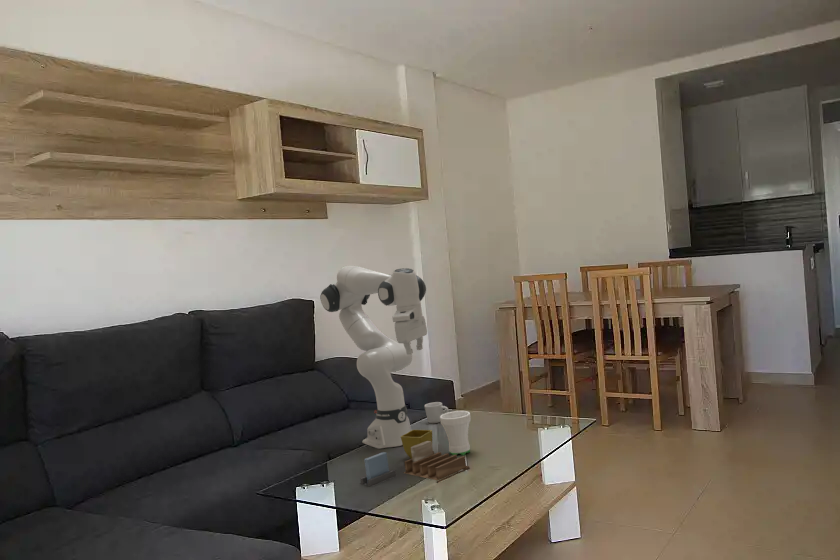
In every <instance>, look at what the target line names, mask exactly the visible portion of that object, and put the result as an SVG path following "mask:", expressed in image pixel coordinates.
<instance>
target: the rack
mask: <svg viewBox="0 0 840 560" xmlns="http://www.w3.org/2000/svg"><path fill="white" fill-rule="evenodd" d="M411 453H412V459H411V458H409V459H408V460H404V462H403V463H404V470H405V471H404V472H402V473H403V474H406V475H409V476H415V477H421V478H425V479H428V480H434V481H436V483H437V484H438V483H441V482H442V481H444V480H445V481H446V480H447V479H449V478H451V477H454V476H456V475H458V474H461V473H462V472H465V471H467V470H470V466H469V465H467V462H466V461H467V460H466V455H461V456H460V457H458V455H450V453H448V452H447V453H444V454H443V453H442V452H441V451H438V452H436V453H435V451H434V449H433V440H432V441H426V442H423V443H420V444H418V445H415V446H413V447H411Z"/></svg>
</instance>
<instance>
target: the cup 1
mask: <svg viewBox="0 0 840 560" xmlns="http://www.w3.org/2000/svg"><path fill="white" fill-rule="evenodd" d="M444 409H445V410H446V413H448V412H450V410H449V407H447V406H445V405H443V402H440V401H435V402H429V403H426V404H424V411H425V414H426V418H427V422H428V423H429V424H438V423H441V421H440V416H441V415H442V414H445V413H444Z"/></svg>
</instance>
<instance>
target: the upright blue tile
mask: <svg viewBox="0 0 840 560" xmlns="http://www.w3.org/2000/svg"><path fill="white" fill-rule="evenodd" d="M363 462H364V466H365V467H364V468H365V474H366V475H365V476H367V483H368V480H369V479H372V478H374V477H377V476H379V475H382V474H384V473H387V472H389V471H390V468H389V467H390V466H389V461H388V452H386V451H385V452H384V451H382V452H380V453H377V454H375V455H372V456H369V457H366V458H364V461H363Z"/></svg>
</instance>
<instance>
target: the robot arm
mask: <svg viewBox="0 0 840 560" xmlns="http://www.w3.org/2000/svg"><path fill="white" fill-rule="evenodd" d="M426 293H427V287H426V283H425V281H424V280H423V279H422V278H421V277H420V276H419V275H417V274H416V271H415V270H414V269H412V268H407V267H406V268H397V269H395V270H393V272H392V274H390V273H389V274H388V273H384V272H380V271H377V270H376V271H375V270H373V269H369V268H365V267H363V266H359V265H358V266H357V265H345V266H343V267H341V268H340V269H339V270H338V272H337V273H336V283H334V284H329V285H328V286H327V287H325V288H324V289H323V290H322V291H321V293H320V303H321V305H322V307H323V308H324V310H326V311H327V312H328V313H334V312H338V311H339V310H340V312H339V313H338V317H339V321H340V323H341V325H342V327H343V328H344V331H346V334H347V335H348V336H349V337H350V339H351V340H352V341H353V343H354V344H355V345H356V347H357V348H358V349H360V350H362V351H364V352H363V353H361V354H359V355H358V357H357V359H356V368H357V371H358V372H359V374H360V375H361V376H362V377H363V378H365V379H366V380H368V381H369V383H370V384H371V386H372V389H373V390H374V395H375V399H376V400H375V401H376V406H377V409H375V410H374V413H373V414H376V415H375V419H374V420H373V421H372V422H371V423H370V425H368V427H367V432H366V433H367V437H366V438H365V439H363V440H362V444H364V445H367V446H370V447H373V448H375V449H377V450H378V449H384V448H385V449H386V448H393V447H400V446H403V444H402V440H401V436H402V435H404V434H406V433H408V432H410V431H412V427H411V423H410V419H409V417H408V409H407V405H406V404H405V395H404V389H403V387H402V385H401V384H400V383H398V382H395V381H394V380H393V377H392V374H391V373H395V372H398V371H401V370H403V369H405V368H407V367H408V366H410V364H411V363H412V361H413V353H414V352H413V351H414V350H413V348H412V346H411V344H412V343H411V342H412V341H416V351H421V350H423V342H424V336H427V334H428V328H427V323H426V319H425V316H424V315H423V310H422V302H421V301H422V300H423V299H424V297H425V295H426ZM374 294H378V299H379V301H380V302H381V304H383V305H384V306H388V307H390V306H396V311H395V313H394V314H393V315H392V318H391V319H392V322H393V323H394V332H395V338H396V340H397V341H396V340H395V339H392V338H390V337H389V336H387V335H386V334H385V333H383V332H382V331H381V330H380V329H379V328H378V327H377V325H376V324H375V323H374V322H373V320H371V318H370V317H369V316H368V315H367V314H366V312H365V311H364V310H363V307H362V305H363V306H365V305H367V303H368V300H369V299H370V296H371V295H374Z"/></svg>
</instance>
